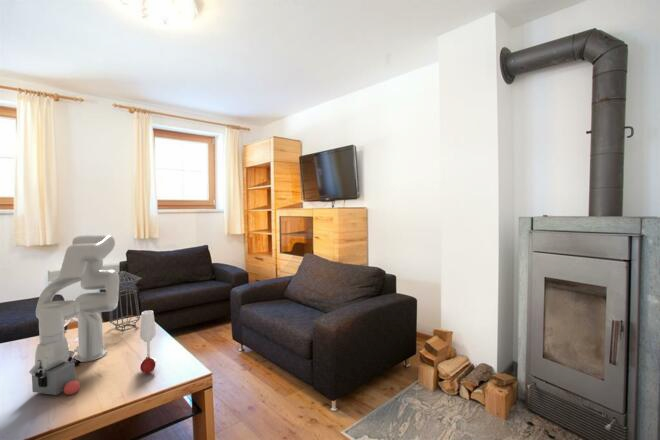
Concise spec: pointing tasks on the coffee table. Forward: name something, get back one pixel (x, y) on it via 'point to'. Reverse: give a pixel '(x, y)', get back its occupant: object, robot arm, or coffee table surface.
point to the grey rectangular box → (55, 379)
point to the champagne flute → (147, 329)
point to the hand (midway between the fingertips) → (54, 380)
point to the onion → (147, 365)
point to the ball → (71, 387)
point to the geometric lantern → (126, 300)
